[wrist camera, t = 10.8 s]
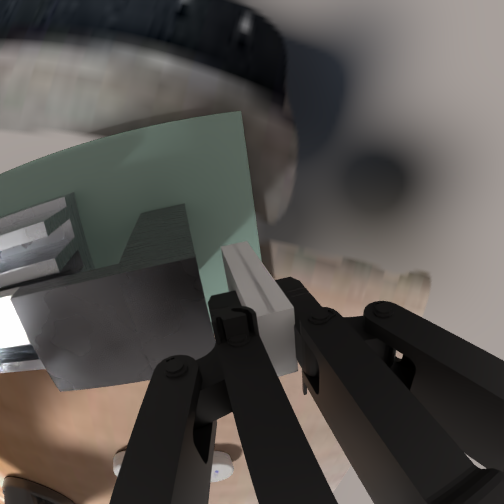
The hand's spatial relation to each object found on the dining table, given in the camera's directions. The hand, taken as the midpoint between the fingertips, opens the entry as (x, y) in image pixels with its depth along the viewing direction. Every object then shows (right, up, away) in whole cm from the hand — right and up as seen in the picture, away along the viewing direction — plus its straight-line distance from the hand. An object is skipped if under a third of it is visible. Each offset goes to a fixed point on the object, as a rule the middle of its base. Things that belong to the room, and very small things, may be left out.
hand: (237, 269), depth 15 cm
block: (-7, +1, +5) cm, 8 cm away
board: (-13, 0, +5) cm, 14 cm away
